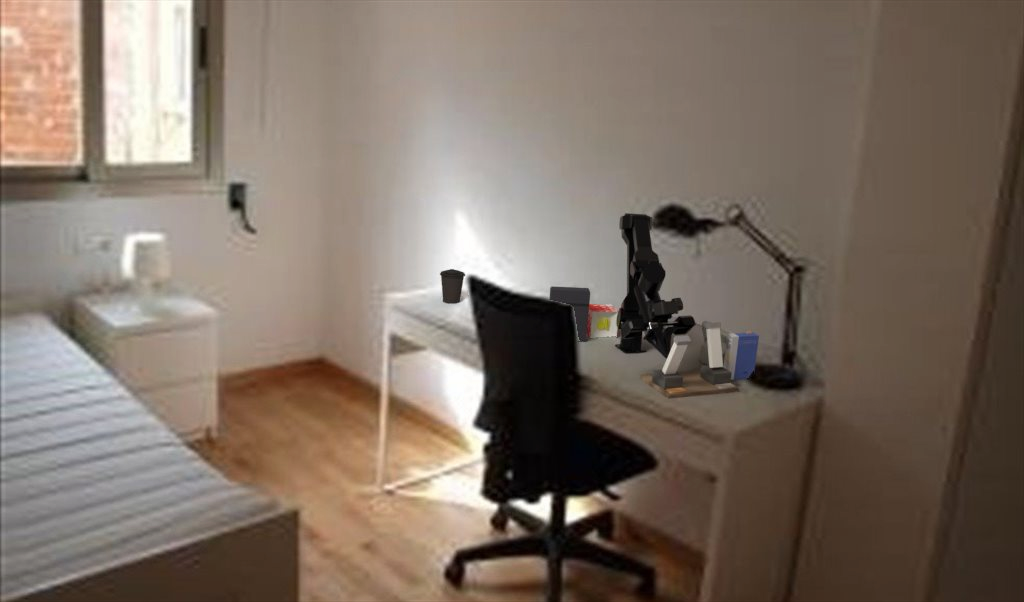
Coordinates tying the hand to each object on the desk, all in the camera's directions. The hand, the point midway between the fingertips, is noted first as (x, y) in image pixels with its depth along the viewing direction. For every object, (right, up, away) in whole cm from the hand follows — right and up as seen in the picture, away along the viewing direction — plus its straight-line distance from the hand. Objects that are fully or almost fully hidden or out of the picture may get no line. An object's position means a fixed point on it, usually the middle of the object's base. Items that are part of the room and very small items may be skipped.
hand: (667, 357), depth 234 cm
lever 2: (+13, -3, +5) cm, 14 cm away
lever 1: (0, -4, 0) cm, 4 cm away
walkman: (+20, -6, +12) cm, 24 cm away
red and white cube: (-13, +4, +43) cm, 45 cm away
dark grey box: (-23, +3, +36) cm, 43 cm away
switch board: (+6, -7, +5) cm, 10 cm away
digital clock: (+18, -4, +21) cm, 28 cm away
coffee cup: (-58, +14, +68) cm, 90 cm away
